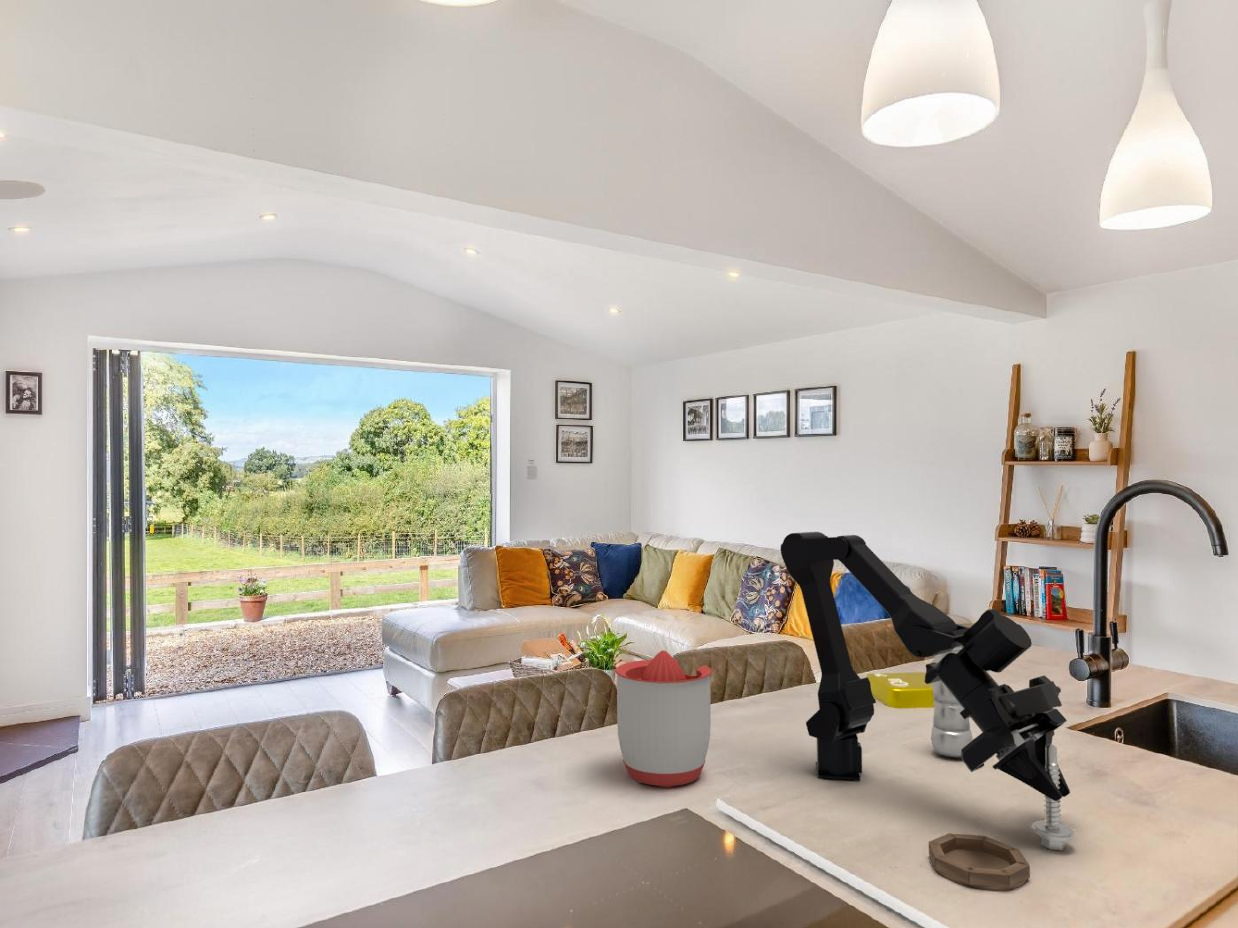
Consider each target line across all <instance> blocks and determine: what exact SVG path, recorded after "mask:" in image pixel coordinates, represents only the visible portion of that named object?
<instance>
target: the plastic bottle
mask: <svg viewBox="0 0 1238 928" xmlns="http://www.w3.org/2000/svg"><path fill="white" fill-rule="evenodd" d="M962 648H963V646H959V647H955V648H954V649H953V650H952V651H950V652H947V653H943V654H939V655H935V656H933V659H932V660H931V662H930V663H933V662H935V663H938V662H939V661H940V660H941V659H942V658H943V657H944V656H945V655H946V654H948V653H956V654H957V653H958V652H959V651H960V650H961V649H962ZM932 688H933V698H934V707H933V723H932V725H933V726H932V727H931V734H930V740H931V744H932V748H933V750H934V751H935V752H936V754H939V755H941V756H944V757H948V758H961V749H962V748H964V747H965V746H966V745H967V744H969V743H970V742H971V741H972V740H974V737H973V733H972V730H971V725H970V724H971V723H970V718H967V719H964V718H963V717H962V716H961V714H960V712H961V711H962V710H964V708H963V707H962V706H961V705H960V703H959V702H958V701H957V700H956V698H955V697H954V696H953V695H952V693H951V692H950V691H949V690H948V688H947V687H946V686H945V685H944V683H943V682H942V681H941V680H940V681H937V682H934V683H932Z"/></svg>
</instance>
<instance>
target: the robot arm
mask: <svg viewBox="0 0 1238 928" xmlns="http://www.w3.org/2000/svg"><path fill="white" fill-rule="evenodd" d="M780 554H781V558H782V560H783V563H784V566H785V569H786V570H787V572H788V574H789V575H790V576H791V578H792V580H794V582H795V583H796V584H797V585H798V586H799V588H800V591H801V595H802V599H803V603H804V607H805V611H806V615H807V619H808V623H809V627H810V631H811V635H812V639H813V640H812V641H813V643H814V647H815V652H816V656H817V659H818V664H819V668H820V671H821V672H820V673H821V677H820V682H819V686H818V690H817V699H818V710H817V711H816V712H815V713H814V714H813V715H812V716H811V717H810V718H808V720H807V721H806V722H805V725H806V728H807V729H806V730H807V734H808V736H810V737H812V738H816V761H815V768H816V774H817V778H819V779H833V780H845V781H846V780H847V781H848V780H849V781H860V780H861V775H860V774H862V773H863V748H862V745H861V742H859V737H858V735H859V734H864V733H865V732H866V728H867V726H868V723H869V722H871V720H872V717H873V716H874V714H875V706H874V704H876V703H877V701H876V698H874V697H873V695H872V692H871V685H870V681H869V679H868V678H867V677H866V676H865V677H864V678H861V677H860V676H859V675H858V674H857V672H856V671H855V670H854V667H853V665H852V662H851V659H850V654H849V651H848V646H847V642H846V638H845V634H844V631H843V628H842V627H843V626H842V623H841V618H840V616H839V611H838V608H837V604H836V600H835V596H834V593H833V588H832V584H831V579H832V574H833V570H834V565H835V562H834V561H835V560H836V561H837V560H838V562H840V563H841V564H842V565H843V566H844V567H845V568H846V569H847V571H849V573H850V574H851V575H852V576H853V577H854V578H855V579H856V580H857V581H858V582H859V583H860V584H861V585H862V587H864V589H865V590H866V591H867V592H868V593H869V594H870V595H871V596H872V598H873V599H874V600H875V601H876V602H877V603H878V604H879V605H880V606H881V608H883V610H884V611H885V612H886V613H887V614H888V616H889V617H890V620H891V622H892V625H893V630H894V632H895V634H896V635H897V636H898V639H900V641H901V643H902V644H903V646H904V647H905V649H906V650H907V651H908V652H909V653H910V654H911V655H913V657H916V658H929V657H935V656H936V655H939V654H943V653H947V652H950V651H952V650H953V649H954V648H955V647H959V646H961V647H962V649H961V650H960V651H959V652H958V653H957V654H956V653H948V654H946V655H945V656H944V657H943V658H942V659H941V660H940V661H939V662H938V663H935V662H933V663H931V662H930V663H927V664H925V673H926V674H925V683H926V684H930V683H934V682H937V681H940V680H941V681H942V682H943V683H944V685H945V686H946V687H947V688H948V690H949V691H950V692H951V693H952V695H953V696H954V697H955V698H956V700H957V701H958V702H959V703H960V705H961V706H962V707H963V708H964V710H962V711H961V712H960V714H961V716H962V717H963V718H964V719H967V718H969V719H971V720H972V721H973V722H974V724H975V725H976V726H977V727H978V728H979V730H980V731H981V733H980V734H979V735H977V736H976V737H975V738H973V740H972V741H971V742H970V743H969V744H967V745H966V746H965V747H964V748H962V749H961V757H960V758H961V759H960V760H961V761H962V762H963V763H964V764H965V766H966V767H967V768H968V770H969V771H970V772H971V773H973V772H975V771H977V770H980V769H982V768H984V767H985V763H986V762H987V761H988V760H990V759H991V758H993V757H994V756H995V758H996V759H997V760H998V761H997V762H996V763H995V764H993V765H992V768H993V769H994V770H999V771H1001V772H1003V773H1005V774H1007V775H1008V776H1011V777H1013V779H1016V780H1018V781H1020V782H1022V783H1024V784H1025V785H1027V786H1029V787H1031V788H1032V789H1034V790H1036V791H1037V792H1039V793H1040V794H1042V795H1043V796H1047V797H1049V798H1051V799H1052V800H1054V801H1058V800H1060V801H1061V800H1062V799H1063V797H1064V798H1065V797H1067V796H1069V795H1071V794H1070V793H1071V790H1070V788H1069V786H1068V784H1067V781H1066V779H1065V778H1064V775H1063V773H1062V771H1061V769H1060V767H1059V764H1058V765H1057V766H1058V767H1059V770H1058V771H1059V772H1060V774H1059V775H1058V776H1059V777H1060V779H1058V780H1059V781H1060V783H1059V784H1058V785H1059V786H1060V788H1059V790H1060V791H1059V790H1058V788H1057V786H1056V785H1055V783H1054V782H1053V780H1052V779H1051V778H1050V776H1049V775H1048V773H1047V772H1046V770H1045V769H1044V768H1045V764H1044V763H1045V746H1046V745H1048V744H1052V745H1053V743H1052V742H1053V737H1054V736H1055V731H1056V730H1057V729H1059V728H1060V727H1061V726H1063V725H1064V724H1065V723H1066V722H1067V721H1068V720H1067V719H1066V718H1065V716H1064V715H1063V714H1062V713H1061V711H1059V710H1058V708H1060V707H1062V706H1063V704H1062V702H1061V699H1060V698H1059V695H1060V693H1061V691H1062V689H1061V687H1060V686H1057V685H1056V684H1055V682H1054V680H1051V679H1050V678H1048V677H1047V676H1046V675H1041V676H1038V677H1034V678H1030V679H1029V681H1028V682H1029V683H1028V687H1026V688H1023V689H1020V690H1016V691H1014V690H1013V688H1012V687H1011V686H1010V685H1009V684H1006V683H1003V684H1000V685H999V684H998V682H996V680H995V679H994V678H993V677H992V676H991V674H989V671H991V672H993V673H1001V672H1003V671H1004V670H1005V669H1006V668H1008V667H1009V666H1010V665H1011V664H1012V663H1013V662H1015V661H1016V660H1017V659H1018V658H1019V657H1020V656H1022V655H1023V654H1024V653H1025V652H1026V651H1028V650H1029V649H1030V648H1031V647H1032V643H1033V642H1032V640H1031V637H1030V635H1029V633H1028V632H1027V631H1026V630H1025V628H1024V627H1023V626H1022V625H1021V624H1019V623H1017V622H1015V621H1014V620H1013V619H1011V618H1010V617H1007V616H1006V615H1004V614H1001V613H1000V612H999V610H998V609H996V608H991V609H986V610H985V611H984V612H983V613H982V614H981V615H980V616H979V618H978V620H977V621H976V622H974V623H973V624H972V625H971V626H970V627H968V626H965V625H962V624H958V623H956V622H955V620H953V618H951V617H950V616H949V615H947V614H946V613H945V612H943V611H942V610H941V609H939V608H938V607H936V606H935V605H934V604H932V603H930V602H927V601H925V600H923V599H922V598H919V597H918V596H917V595H915V594H914V593H913V591H911V590H910V588H908V587H907V586H906V585H905V583H904V582H902V581H901V580H900V579H899V578H898V577H897V575H896V574H895V573H894V572H893V571H892V570H891V569H890V568H889V567H888V566H887V565H886V564H885V563H884V562H883V561H882V559H880V558H879V557H878V556H877V555H876V553H874V552H873V551H872V549H871V548H870V547H869V546H868V545H867V542H866V541H865V539H864V538H862V537H861V536H859V535H856V534H849V535H848V534H847V535H845V534H844V535H837V536H832V537H831V536H828V535H825V534H824V533H822V532H820V531H805V532H792V533H789V534H787V535H786V536H785V538H784V539H783V540H782V543H781V544H780ZM1057 707H1058V708H1057Z"/></svg>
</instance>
